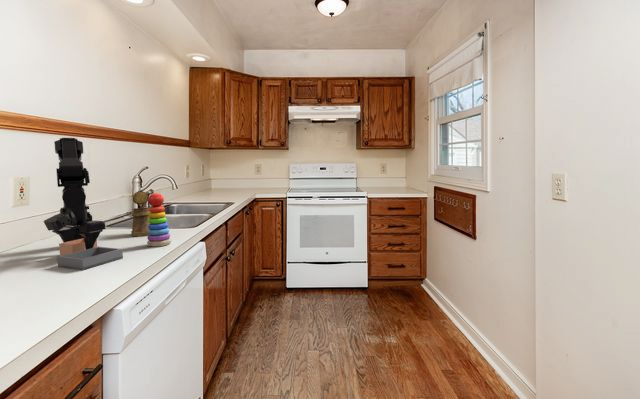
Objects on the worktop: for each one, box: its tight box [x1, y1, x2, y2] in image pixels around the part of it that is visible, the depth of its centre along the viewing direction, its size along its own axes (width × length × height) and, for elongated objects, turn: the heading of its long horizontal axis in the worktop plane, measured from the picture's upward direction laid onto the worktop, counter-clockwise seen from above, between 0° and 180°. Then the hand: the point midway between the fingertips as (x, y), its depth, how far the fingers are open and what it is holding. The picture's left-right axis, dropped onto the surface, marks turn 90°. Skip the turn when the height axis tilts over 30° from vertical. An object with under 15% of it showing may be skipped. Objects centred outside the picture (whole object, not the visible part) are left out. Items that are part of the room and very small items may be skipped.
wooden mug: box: [130, 190, 151, 237], centre depth 144 cm, size 9×14×18 cm, turn 27°
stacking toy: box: [146, 192, 172, 248], centre depth 123 cm, size 8×8×19 cm
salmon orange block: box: [58, 238, 98, 256], centre depth 111 cm, size 6×8×4 cm
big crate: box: [56, 246, 124, 271], centre depth 102 cm, size 10×12×3 cm
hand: (79, 251), depth 111 cm, fingers open, 9 cm apart
